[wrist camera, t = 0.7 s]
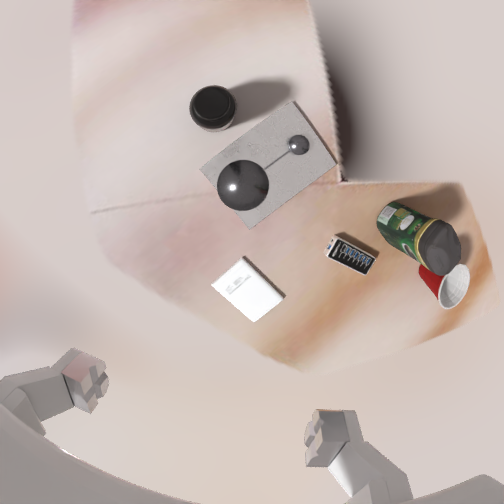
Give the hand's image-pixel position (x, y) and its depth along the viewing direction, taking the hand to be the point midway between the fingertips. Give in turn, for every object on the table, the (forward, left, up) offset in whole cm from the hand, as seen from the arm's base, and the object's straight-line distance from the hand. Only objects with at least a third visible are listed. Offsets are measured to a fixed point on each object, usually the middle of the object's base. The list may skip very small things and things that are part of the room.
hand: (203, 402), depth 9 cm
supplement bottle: (-12, +9, -42) cm, 45 cm away
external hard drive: (+18, -7, -43) cm, 47 cm away
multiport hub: (+25, +14, -42) cm, 51 cm away
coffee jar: (+26, +26, -42) cm, 56 cm away
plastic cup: (+43, +30, -42) cm, 67 cm away
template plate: (+1, +11, -42) cm, 43 cm away
